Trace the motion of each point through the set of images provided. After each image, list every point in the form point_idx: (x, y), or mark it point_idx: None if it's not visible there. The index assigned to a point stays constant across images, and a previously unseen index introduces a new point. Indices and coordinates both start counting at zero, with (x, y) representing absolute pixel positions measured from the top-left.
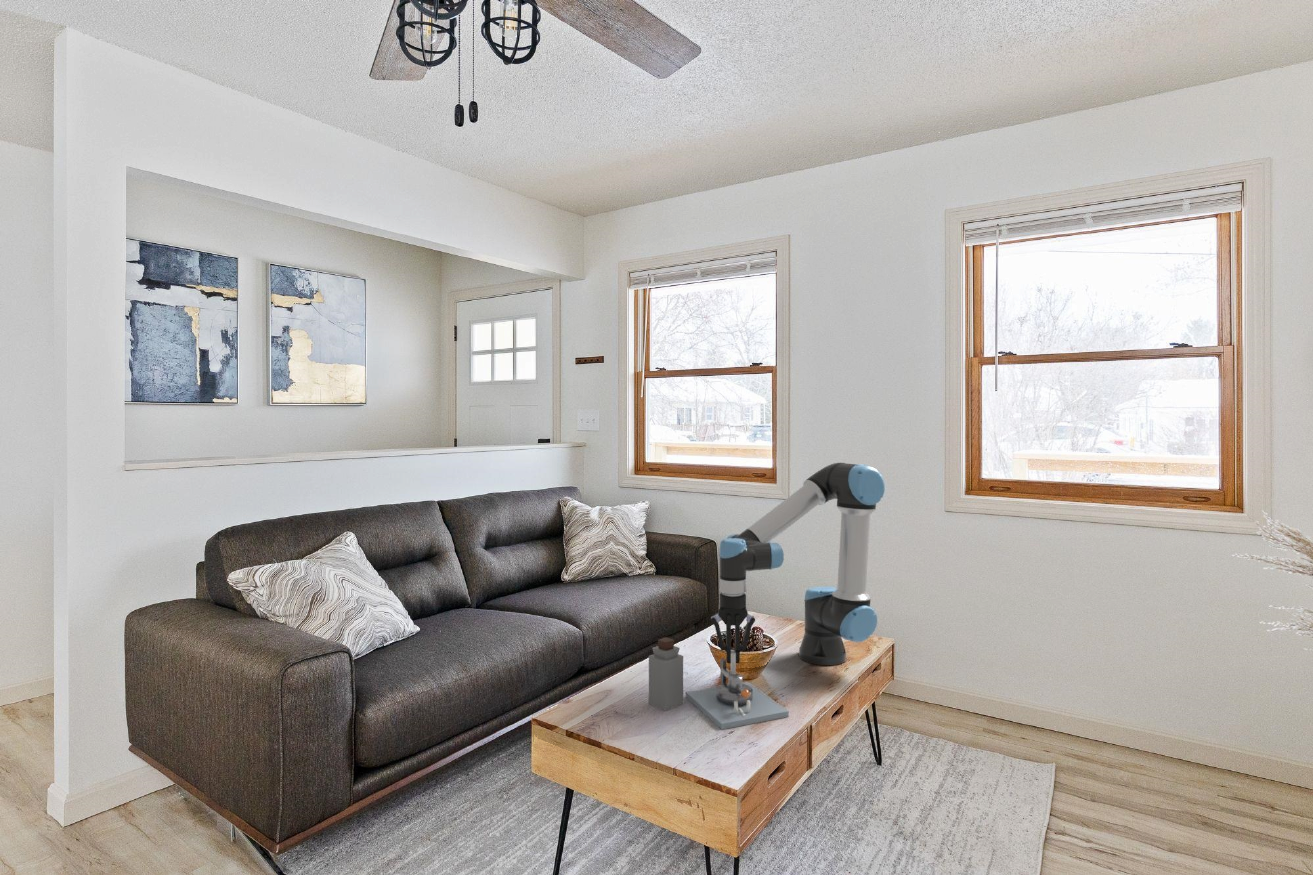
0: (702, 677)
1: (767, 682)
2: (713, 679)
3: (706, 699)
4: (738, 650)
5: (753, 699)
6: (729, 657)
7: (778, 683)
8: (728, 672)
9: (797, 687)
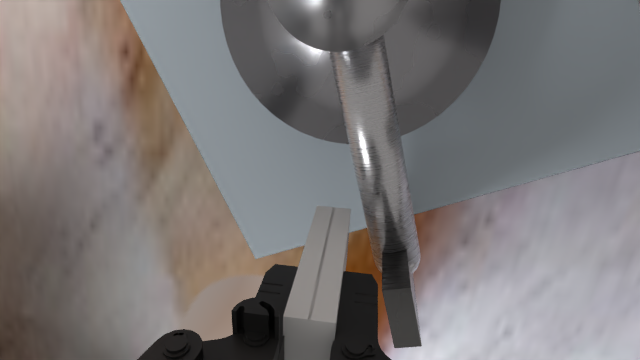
0: (466, 356)
1: (170, 278)
2: None
3: (549, 15)
4: (245, 337)
5: None
6: (350, 305)
7: (123, 265)
8: (379, 161)
9: (41, 219)
